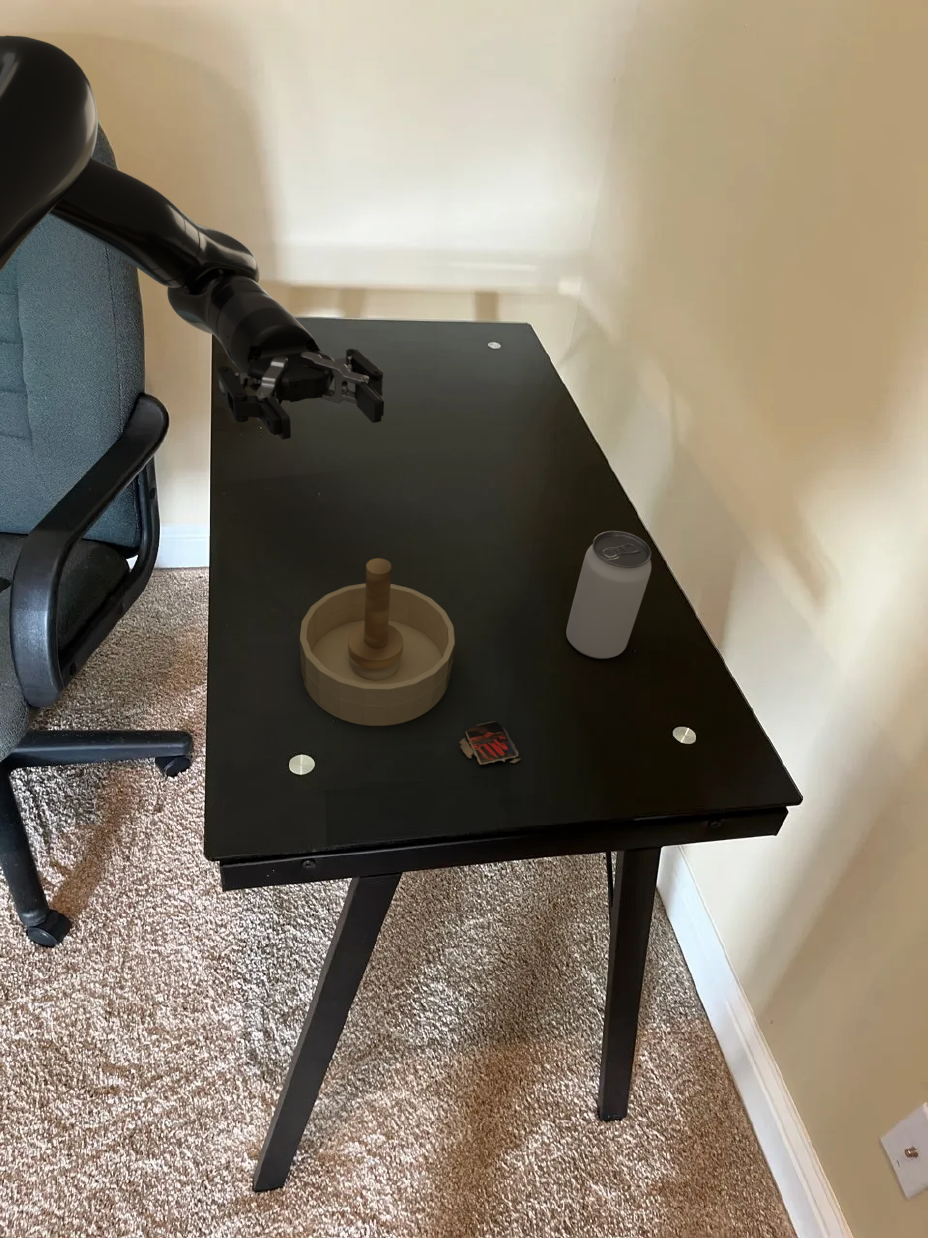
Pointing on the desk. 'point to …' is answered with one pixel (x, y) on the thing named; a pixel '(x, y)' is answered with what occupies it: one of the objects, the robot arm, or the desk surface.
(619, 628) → the can
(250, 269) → the robot arm
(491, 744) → the small printed card
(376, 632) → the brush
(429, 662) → the bowl
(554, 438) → the desk surface
